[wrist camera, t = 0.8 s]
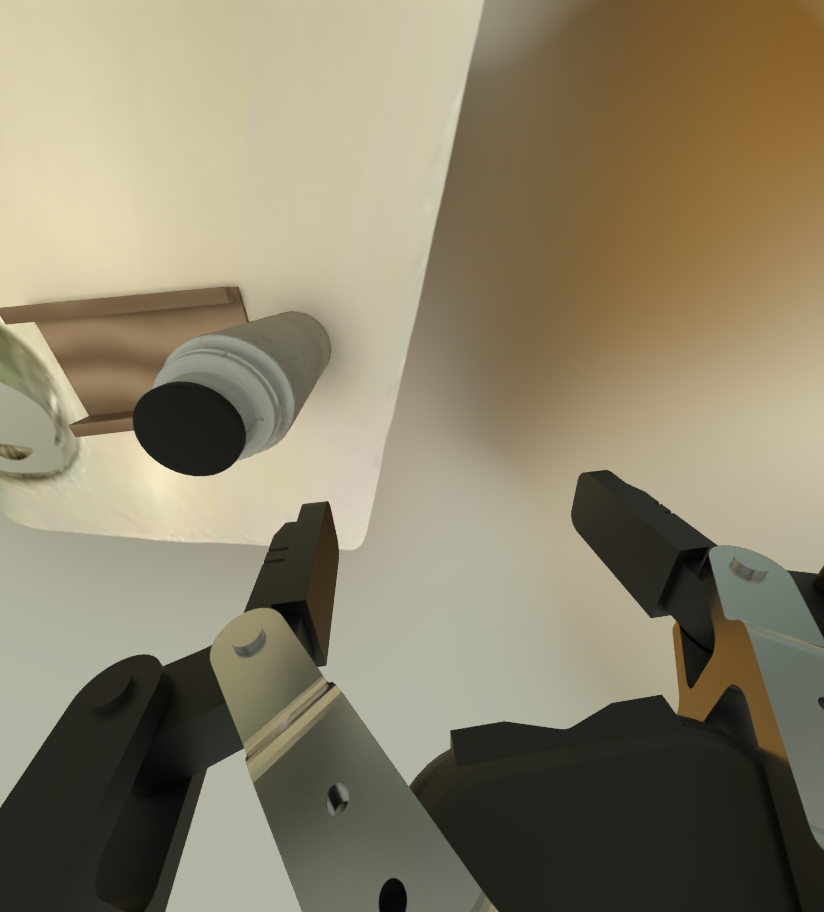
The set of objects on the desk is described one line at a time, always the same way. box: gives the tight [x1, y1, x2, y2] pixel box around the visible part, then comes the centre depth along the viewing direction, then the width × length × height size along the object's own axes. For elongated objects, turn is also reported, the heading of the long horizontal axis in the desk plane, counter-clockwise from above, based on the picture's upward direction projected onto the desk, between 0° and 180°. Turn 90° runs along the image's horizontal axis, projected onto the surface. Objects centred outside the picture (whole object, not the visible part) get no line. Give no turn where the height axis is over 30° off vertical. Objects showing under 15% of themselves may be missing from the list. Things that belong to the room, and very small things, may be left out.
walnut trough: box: [0, 287, 249, 437], centre depth 38 cm, size 14×22×4 cm, turn 95°
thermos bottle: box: [133, 312, 331, 476], centre depth 28 cm, size 8×8×28 cm
